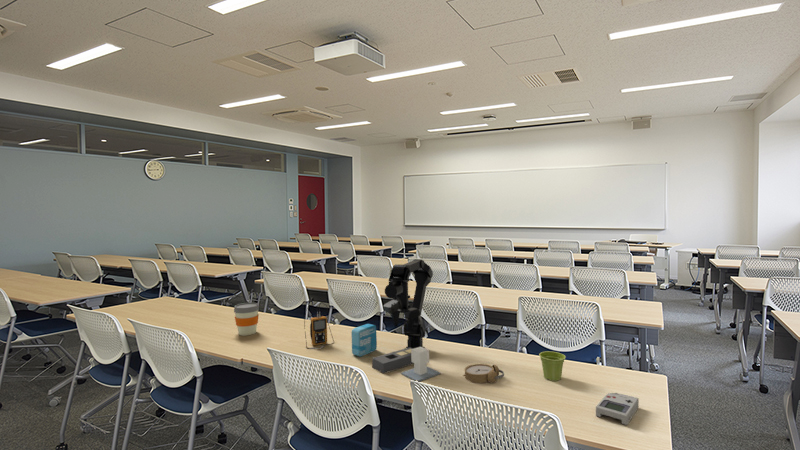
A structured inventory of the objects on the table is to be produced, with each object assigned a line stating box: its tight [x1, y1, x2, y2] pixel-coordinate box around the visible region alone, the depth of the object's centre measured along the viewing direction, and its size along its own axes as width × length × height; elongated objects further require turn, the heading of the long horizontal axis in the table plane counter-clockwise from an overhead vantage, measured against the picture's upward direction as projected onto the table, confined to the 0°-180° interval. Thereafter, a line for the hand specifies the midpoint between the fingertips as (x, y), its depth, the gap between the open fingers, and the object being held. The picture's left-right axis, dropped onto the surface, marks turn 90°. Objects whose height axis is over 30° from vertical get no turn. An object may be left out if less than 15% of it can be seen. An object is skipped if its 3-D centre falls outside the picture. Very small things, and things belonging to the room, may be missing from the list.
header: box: [371, 347, 414, 374], centre depth 175 cm, size 20×8×4 cm, turn 127°
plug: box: [411, 346, 430, 375], centre depth 164 cm, size 5×5×9 cm
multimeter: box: [303, 302, 335, 350], centre depth 200 cm, size 15×10×20 cm
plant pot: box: [538, 351, 566, 382], centre depth 158 cm, size 9×9×9 cm
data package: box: [350, 323, 378, 357], centre depth 190 cm, size 12×4×12 cm, turn 142°
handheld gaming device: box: [595, 392, 640, 426], centre depth 132 cm, size 9×15×4 cm, turn 138°
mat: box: [400, 366, 441, 382], centre depth 165 cm, size 12×10×1 cm
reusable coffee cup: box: [233, 302, 260, 336], centre depth 224 cm, size 13×13×15 cm
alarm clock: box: [462, 363, 505, 384], centre depth 160 cm, size 11×5×15 cm
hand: (402, 328), depth 181 cm, fingers open, 9 cm apart
